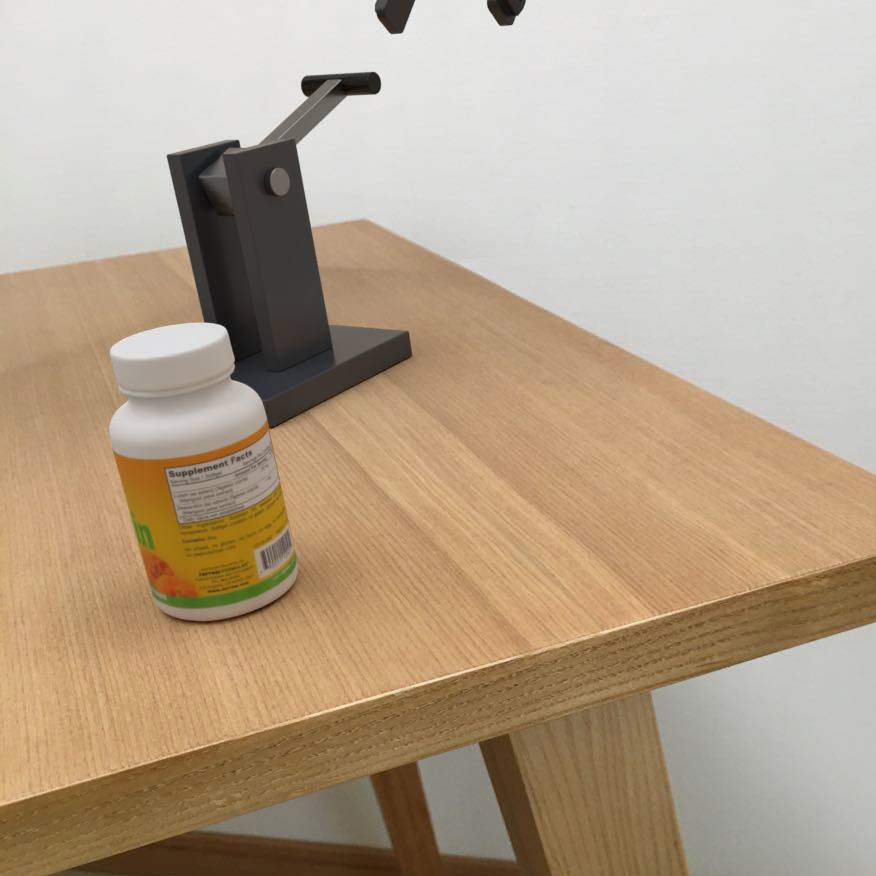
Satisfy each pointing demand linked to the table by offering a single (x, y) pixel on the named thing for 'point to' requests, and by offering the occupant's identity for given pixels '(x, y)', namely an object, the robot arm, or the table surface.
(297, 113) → the press lever
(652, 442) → the table surface
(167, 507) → the supplement bottle
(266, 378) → the bracket
